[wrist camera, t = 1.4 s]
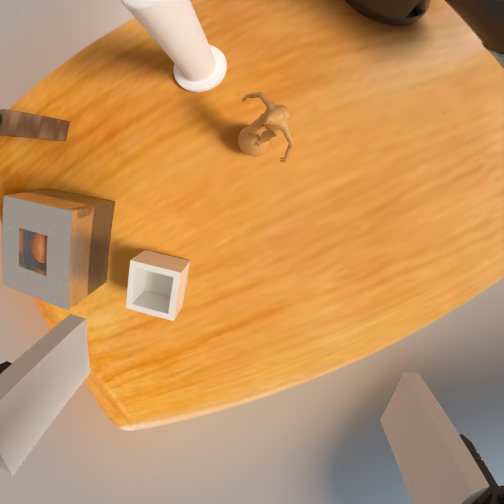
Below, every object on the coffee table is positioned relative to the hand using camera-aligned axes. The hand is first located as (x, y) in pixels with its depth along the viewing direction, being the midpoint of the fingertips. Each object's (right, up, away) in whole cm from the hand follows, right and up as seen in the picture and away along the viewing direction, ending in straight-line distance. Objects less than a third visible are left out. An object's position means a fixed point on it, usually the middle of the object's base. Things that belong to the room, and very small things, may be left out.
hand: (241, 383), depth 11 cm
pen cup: (-12, +2, +32) cm, 34 cm away
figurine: (+2, +19, +27) cm, 33 cm away
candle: (-6, +29, +25) cm, 39 cm away
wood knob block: (-28, +23, +27) cm, 45 cm away
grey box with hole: (-26, +8, +31) cm, 41 cm away
